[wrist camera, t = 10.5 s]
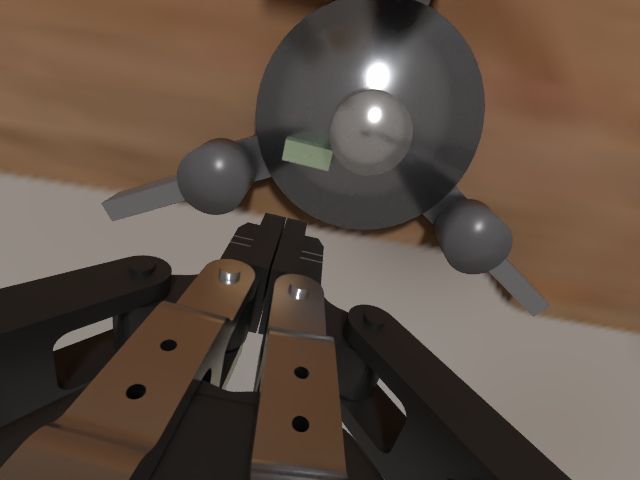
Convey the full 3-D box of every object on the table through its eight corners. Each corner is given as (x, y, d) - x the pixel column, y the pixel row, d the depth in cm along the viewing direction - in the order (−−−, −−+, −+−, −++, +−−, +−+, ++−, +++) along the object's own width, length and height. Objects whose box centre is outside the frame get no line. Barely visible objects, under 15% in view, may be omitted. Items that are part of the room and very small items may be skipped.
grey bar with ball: (421, 226, 28) (431, 246, 25) (470, 187, 26) (486, 203, 23) (500, 304, 30) (517, 330, 28) (548, 272, 29) (571, 296, 26)
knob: (241, 130, 25) (228, 140, 22) (264, 189, 27) (255, 205, 24) (113, 170, 27) (86, 184, 24) (142, 223, 29) (121, 241, 26)
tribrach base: (601, -30, 21) (655, -48, 18) (466, 249, 30) (484, 275, 26) (236, -139, 20) (214, -182, 16) (205, 187, 28) (186, 206, 25)
